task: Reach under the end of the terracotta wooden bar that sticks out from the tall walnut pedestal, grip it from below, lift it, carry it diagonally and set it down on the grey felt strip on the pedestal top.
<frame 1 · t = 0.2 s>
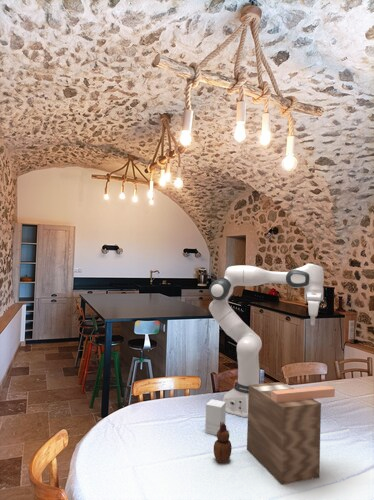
hand: (312, 323, 174), 48 cm above the table, tool pointing down, fingers open, 8 cm apart
walnut pedestal: (280, 462, 134), on the table
terracotta bar: (303, 397, 132), point 26 cm above the table, touching walnut pedestal
supplement box: (215, 431, 158), on the table
wooden figurine: (222, 460, 134), on the table
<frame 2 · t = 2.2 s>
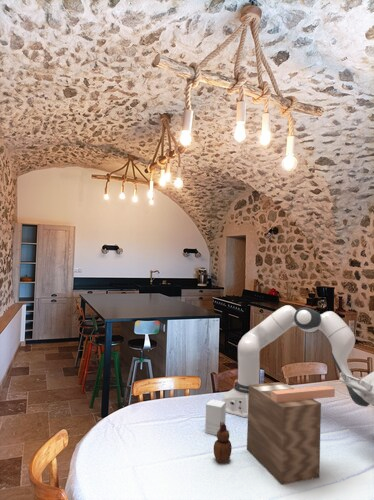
hand: (350, 377, 139), 32 cm above the table, tool pointing upward, fingers open, 8 cm apart
nothing on the table moved.
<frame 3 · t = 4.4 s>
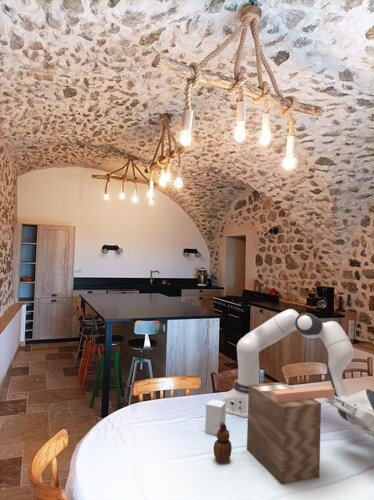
hand: (334, 399, 136), 24 cm above the table, tool pointing upward, fingers open, 8 cm apart
nothing on the table moved.
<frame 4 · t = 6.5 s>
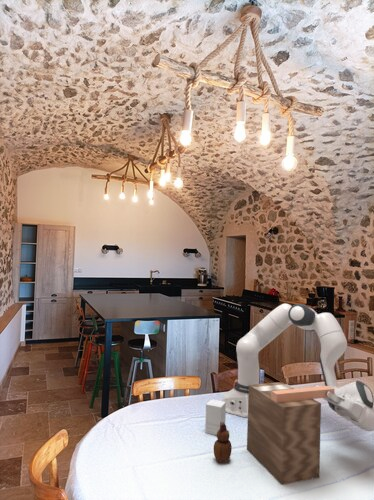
hand: (322, 390, 135), 28 cm above the table, tool pointing upward, fingers closed on terracotta bar, 3 cm apart
terracotta bar: (303, 397, 132), point 26 cm above the table, touching gripper, walnut pedestal
everything else where it was.
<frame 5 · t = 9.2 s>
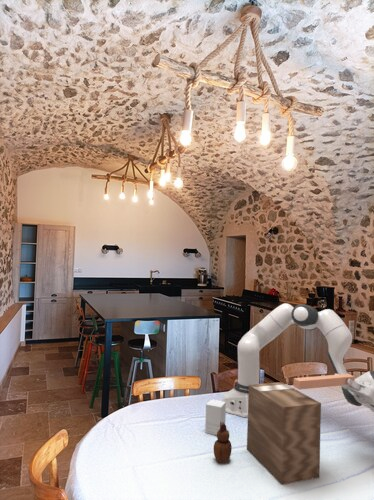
hand: (342, 378, 138), 32 cm above the table, tool pointing upward, fingers closed on terracotta bar, 3 cm apart
terracotta bar: (324, 385, 135), point 30 cm above the table, touching gripper
everything else where it was.
when the fingers open (29 cm above the table, at t = 12.2 s): terracotta bar stays where it is, resting on walnut pedestal.
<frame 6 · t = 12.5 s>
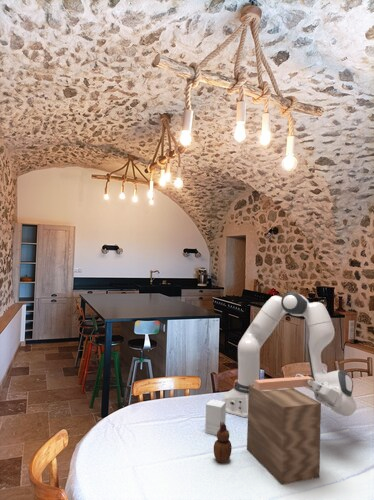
hand: (302, 378, 146), 29 cm above the table, tool pointing upward, fingers open, 6 cm apart
terracotta bar: (284, 386, 143), point 26 cm above the table, touching walnut pedestal
everything else where it was.
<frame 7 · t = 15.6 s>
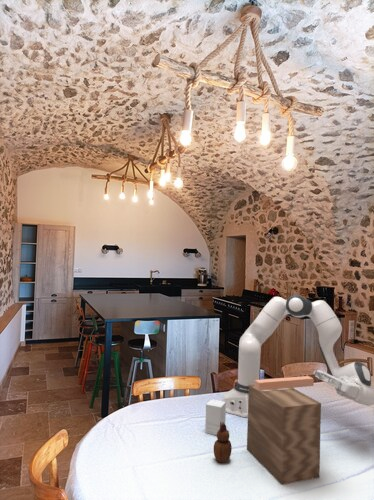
hand: (321, 376, 150), 29 cm above the table, tool pointing upward, fingers open, 8 cm apart
nothing on the table moved.
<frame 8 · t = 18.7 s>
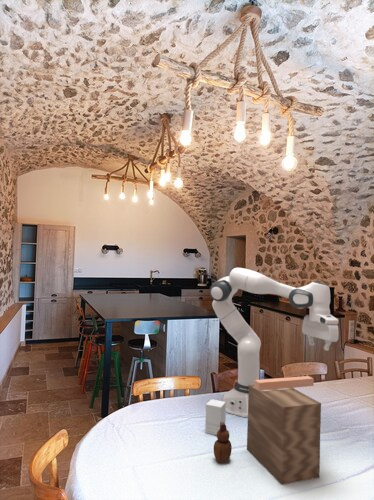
hand: (318, 347, 160), 39 cm above the table, tool pointing down, fingers open, 8 cm apart
nothing on the table moved.
at the end: terracotta bar inside the target area on the walnut pedestal (0.2 cm from its centre), point 26.2 cm above the walnut pedestal's base; terracotta bar tilted 0°; the gripper is holding nothing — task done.
